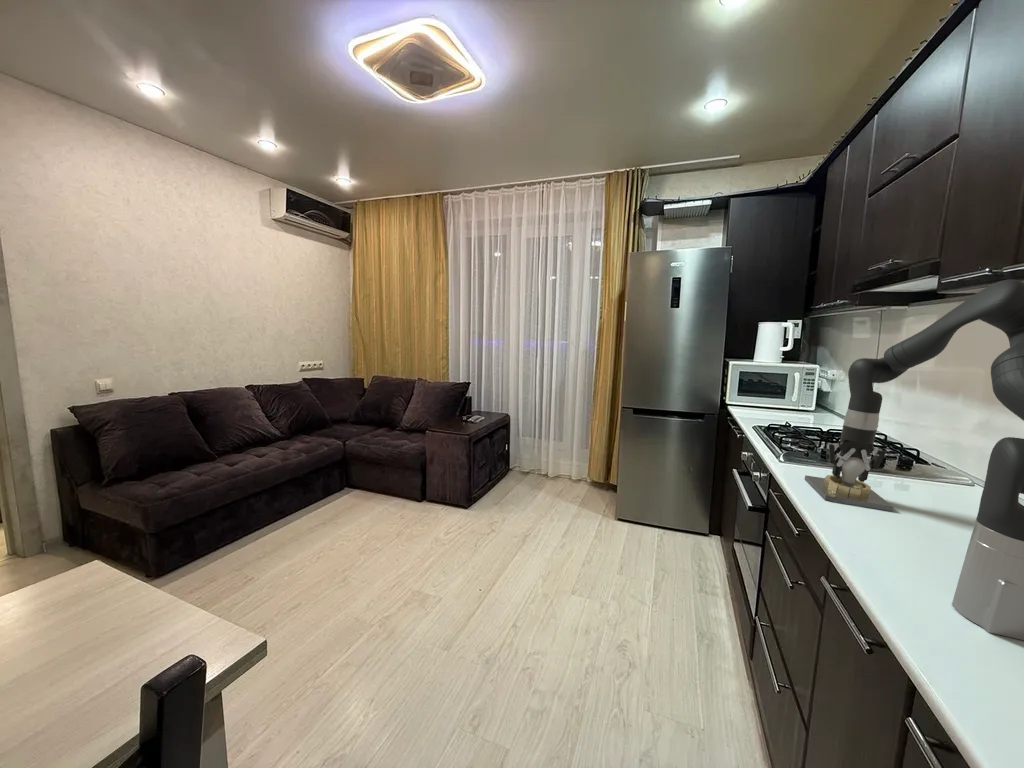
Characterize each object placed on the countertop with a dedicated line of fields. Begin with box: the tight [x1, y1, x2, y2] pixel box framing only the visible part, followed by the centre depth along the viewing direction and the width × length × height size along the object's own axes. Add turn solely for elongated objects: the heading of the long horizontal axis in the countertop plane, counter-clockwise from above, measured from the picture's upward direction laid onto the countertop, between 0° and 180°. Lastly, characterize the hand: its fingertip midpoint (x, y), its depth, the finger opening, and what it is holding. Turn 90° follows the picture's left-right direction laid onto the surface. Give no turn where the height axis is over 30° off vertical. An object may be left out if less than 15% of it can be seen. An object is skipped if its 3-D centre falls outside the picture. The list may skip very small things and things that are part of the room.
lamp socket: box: [803, 474, 895, 512], centre depth 119 cm, size 16×16×4 cm
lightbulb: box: [840, 457, 865, 487], centre depth 118 cm, size 6×6×11 cm
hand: (848, 478), depth 119 cm, fingers closed on lightbulb, 5 cm apart
